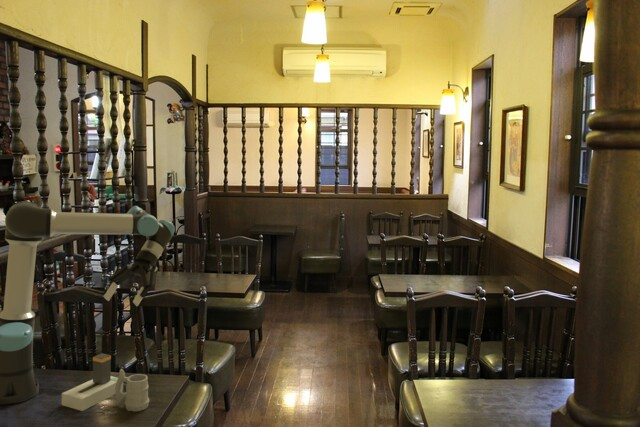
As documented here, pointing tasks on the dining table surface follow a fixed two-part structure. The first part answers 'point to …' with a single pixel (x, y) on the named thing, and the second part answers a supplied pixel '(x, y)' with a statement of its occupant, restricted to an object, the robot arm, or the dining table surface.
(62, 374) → the dining table surface
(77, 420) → the dining table surface
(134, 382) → the mug
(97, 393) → the switch box
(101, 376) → the lever
